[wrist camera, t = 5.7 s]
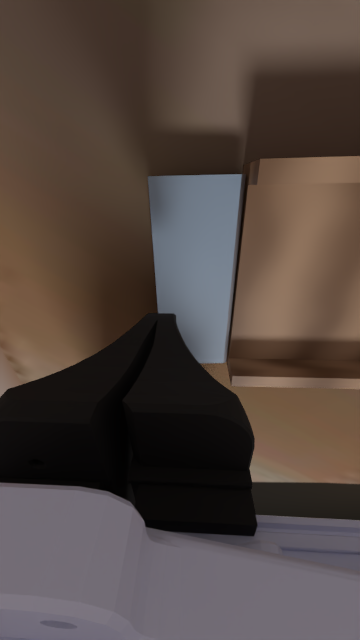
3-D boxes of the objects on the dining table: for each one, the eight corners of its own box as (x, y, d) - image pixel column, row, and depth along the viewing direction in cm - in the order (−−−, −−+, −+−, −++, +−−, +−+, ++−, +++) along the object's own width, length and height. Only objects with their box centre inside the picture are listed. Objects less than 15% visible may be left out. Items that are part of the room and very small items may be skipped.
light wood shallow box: (225, 352, 21) (233, 396, 16) (243, 165, 14) (266, 156, 9) (364, 354, 20) (410, 401, 16) (458, 159, 13) (589, 147, 9)
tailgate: (225, 356, 19) (162, 357, 20) (243, 174, 13) (149, 176, 13) (227, 362, 19) (162, 363, 19) (247, 174, 12) (147, 176, 12)
